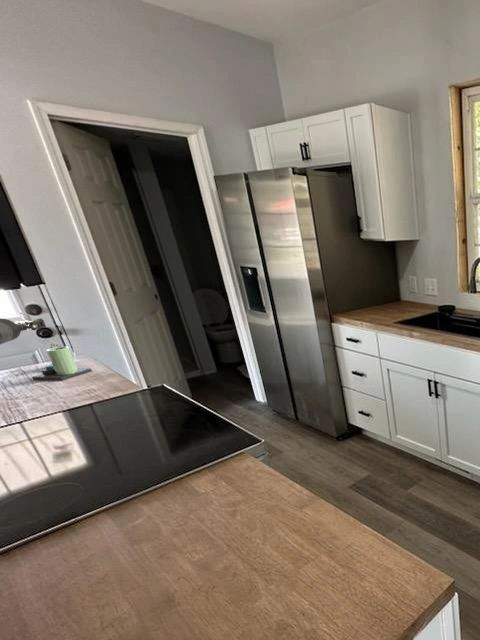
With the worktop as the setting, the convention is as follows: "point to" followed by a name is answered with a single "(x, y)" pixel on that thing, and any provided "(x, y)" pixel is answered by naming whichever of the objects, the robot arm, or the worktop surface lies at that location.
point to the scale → (54, 377)
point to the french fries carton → (54, 345)
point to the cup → (62, 360)
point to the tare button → (49, 367)
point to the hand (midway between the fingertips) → (25, 322)
